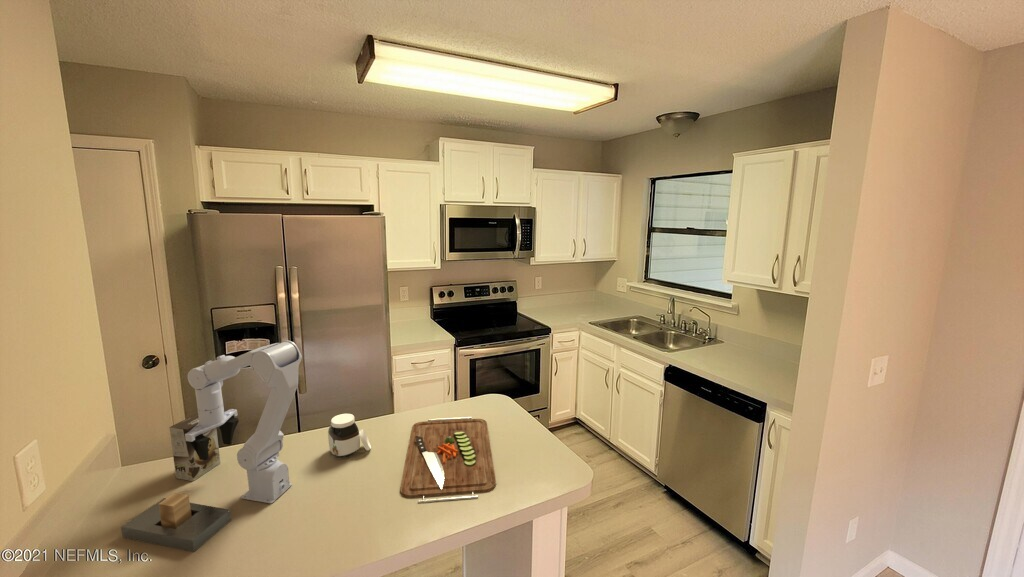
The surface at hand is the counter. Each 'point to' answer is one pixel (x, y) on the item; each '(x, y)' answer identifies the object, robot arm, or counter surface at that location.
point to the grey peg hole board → (183, 537)
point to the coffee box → (192, 451)
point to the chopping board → (448, 459)
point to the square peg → (175, 510)
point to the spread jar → (346, 436)
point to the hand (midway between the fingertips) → (216, 451)
